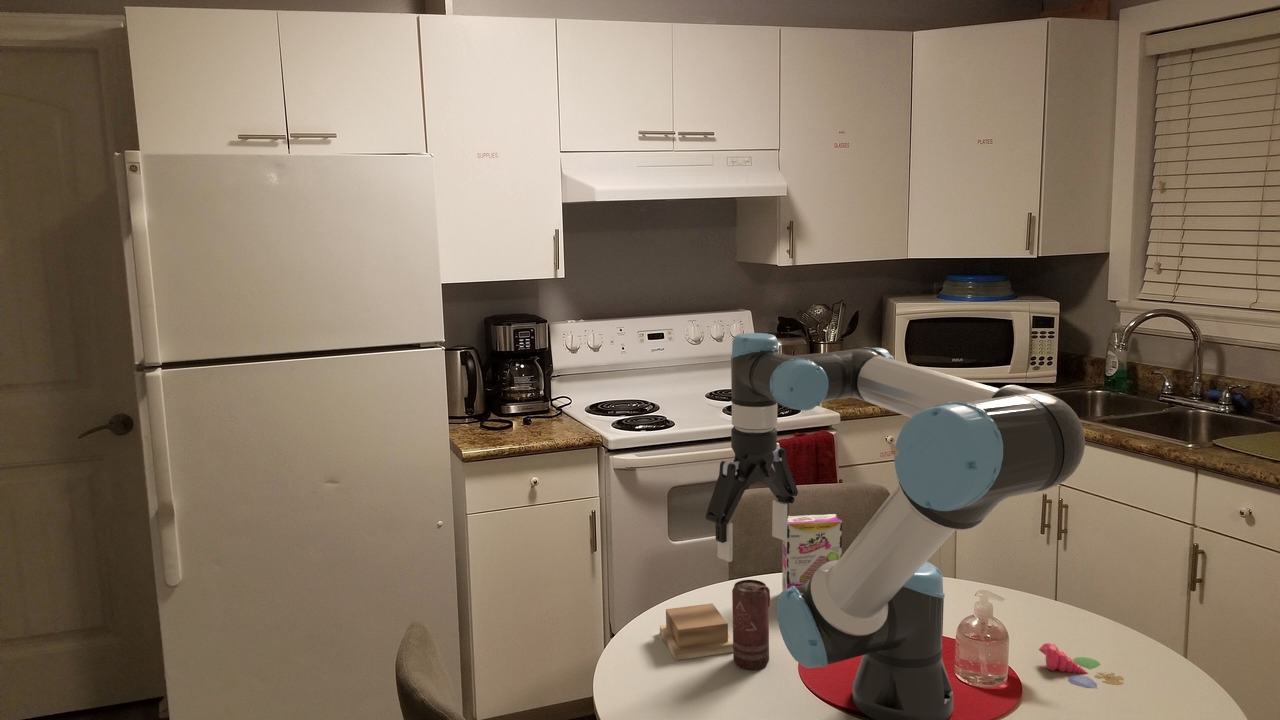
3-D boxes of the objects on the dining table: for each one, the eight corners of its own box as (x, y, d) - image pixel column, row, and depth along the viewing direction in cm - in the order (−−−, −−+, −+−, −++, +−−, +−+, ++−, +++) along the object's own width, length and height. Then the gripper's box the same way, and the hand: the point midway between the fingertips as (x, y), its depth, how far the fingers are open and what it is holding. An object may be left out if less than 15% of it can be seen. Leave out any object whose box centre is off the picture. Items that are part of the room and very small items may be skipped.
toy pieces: (1057, 691, 146) (1058, 665, 145) (1033, 658, 157) (1034, 634, 156) (1136, 692, 145) (1137, 666, 144) (1106, 658, 156) (1107, 634, 155)
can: (772, 670, 155) (771, 591, 153) (735, 671, 155) (733, 592, 153) (768, 653, 161) (767, 577, 159) (732, 654, 161) (730, 578, 159)
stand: (735, 651, 162) (734, 625, 161) (675, 660, 160) (674, 633, 159) (716, 625, 173) (716, 600, 172) (659, 633, 170) (659, 607, 170)
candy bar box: (787, 602, 182) (786, 523, 180) (781, 592, 187) (781, 515, 184) (842, 599, 183) (842, 520, 180) (835, 589, 188) (835, 512, 185)
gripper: (786, 410, 162) (784, 524, 166) (683, 436, 146) (684, 561, 150) (819, 417, 157) (817, 535, 161) (717, 446, 141) (717, 575, 145)
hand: (753, 548), depth 155 cm, fingers open, 13 cm apart
